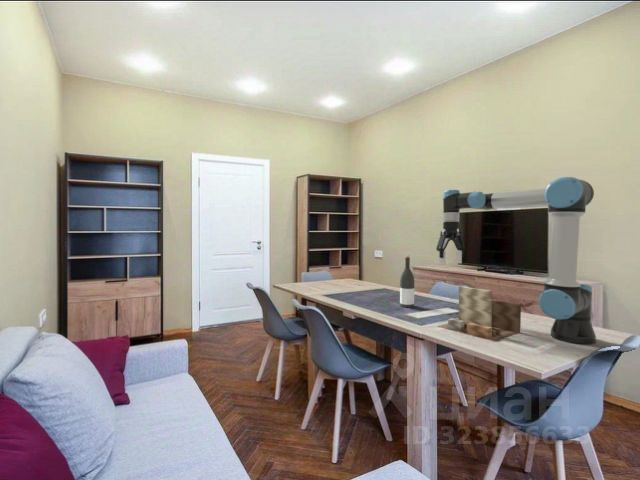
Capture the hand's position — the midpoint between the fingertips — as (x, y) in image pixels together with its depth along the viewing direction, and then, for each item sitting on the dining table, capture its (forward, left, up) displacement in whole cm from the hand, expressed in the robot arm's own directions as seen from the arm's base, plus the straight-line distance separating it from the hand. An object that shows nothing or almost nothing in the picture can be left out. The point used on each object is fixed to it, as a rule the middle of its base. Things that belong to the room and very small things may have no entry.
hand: (450, 264), depth 172 cm
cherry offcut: (-25, +18, -26) cm, 41 cm away
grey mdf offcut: (-15, +18, -26) cm, 35 cm away
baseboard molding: (+13, -2, -29) cm, 31 cm away
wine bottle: (+33, -6, -28) cm, 43 cm away
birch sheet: (-20, +13, -26) cm, 36 cm away
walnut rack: (-20, +11, -28) cm, 36 cm away
